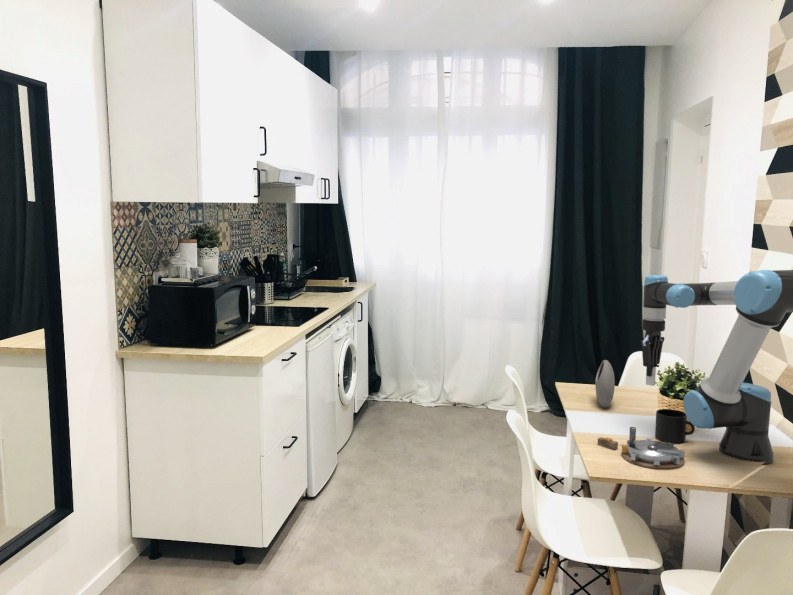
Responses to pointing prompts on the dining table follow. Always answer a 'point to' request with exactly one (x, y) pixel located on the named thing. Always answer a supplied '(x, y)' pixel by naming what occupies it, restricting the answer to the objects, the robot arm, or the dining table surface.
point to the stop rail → (608, 443)
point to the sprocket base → (651, 465)
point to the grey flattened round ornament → (605, 384)
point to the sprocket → (651, 450)
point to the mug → (671, 426)
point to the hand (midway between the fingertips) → (650, 384)
